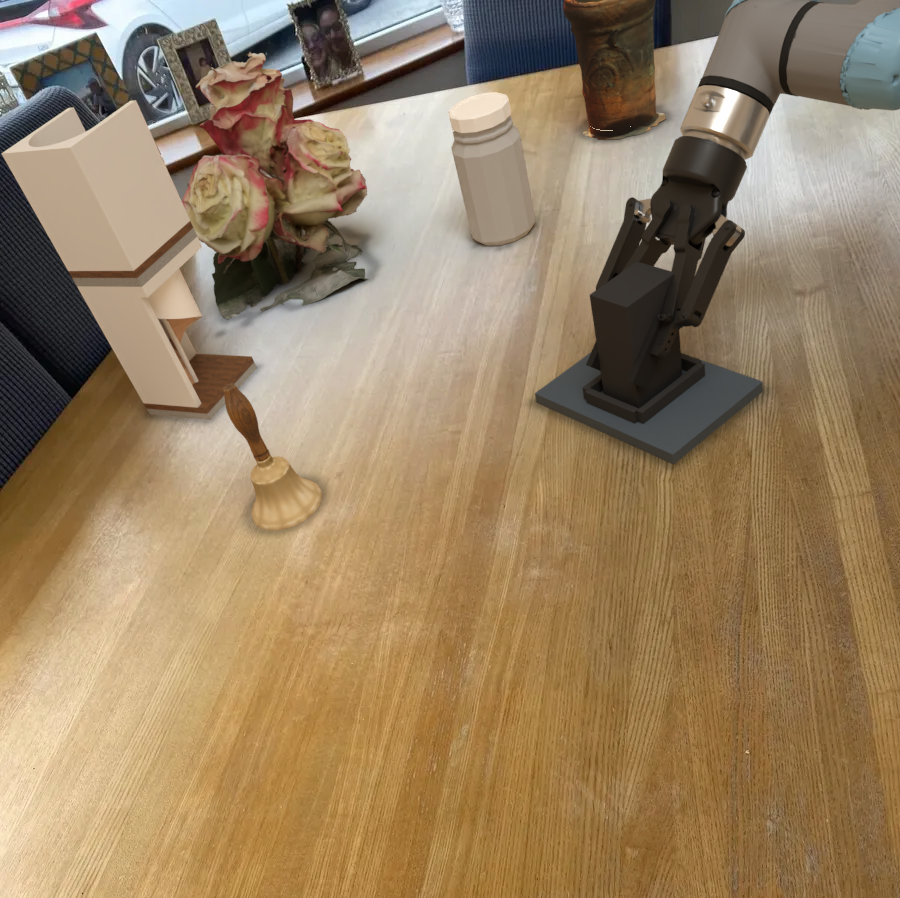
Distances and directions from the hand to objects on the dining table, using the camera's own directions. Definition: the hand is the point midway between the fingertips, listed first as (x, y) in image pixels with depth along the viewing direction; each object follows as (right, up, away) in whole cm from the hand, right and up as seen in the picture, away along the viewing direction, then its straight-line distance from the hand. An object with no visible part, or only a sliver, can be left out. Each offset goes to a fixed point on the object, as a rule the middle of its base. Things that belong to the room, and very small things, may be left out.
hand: (616, 376), depth 98 cm
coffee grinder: (-50, +5, +29) cm, 58 cm away
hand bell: (-35, -13, +7) cm, 38 cm away
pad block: (+3, 0, +3) cm, 5 cm away
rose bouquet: (-39, +27, +47) cm, 67 cm away
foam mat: (+4, -1, +5) cm, 6 cm away
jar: (-9, +30, +40) cm, 51 cm away
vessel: (+11, +55, +57) cm, 80 cm away
